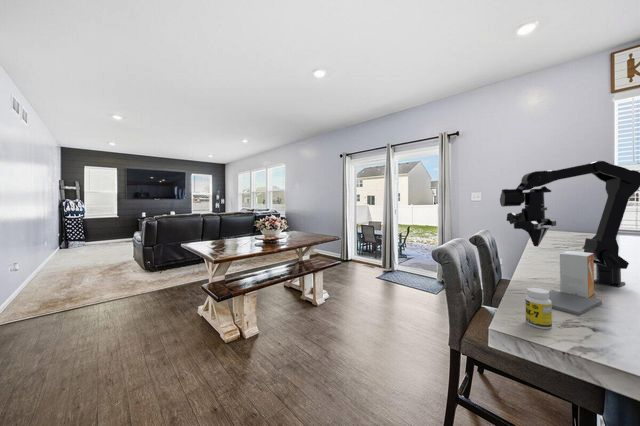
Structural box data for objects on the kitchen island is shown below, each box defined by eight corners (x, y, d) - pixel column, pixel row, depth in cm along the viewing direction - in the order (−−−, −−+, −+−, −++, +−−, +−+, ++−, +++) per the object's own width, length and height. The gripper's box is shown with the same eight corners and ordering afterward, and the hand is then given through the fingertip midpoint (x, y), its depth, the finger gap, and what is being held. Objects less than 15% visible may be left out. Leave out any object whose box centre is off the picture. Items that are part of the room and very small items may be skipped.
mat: (552, 292, 81) (552, 290, 81) (601, 303, 71) (601, 300, 71) (528, 301, 74) (528, 299, 74) (578, 315, 64) (578, 312, 64)
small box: (588, 299, 74) (587, 256, 74) (559, 294, 79) (558, 253, 79) (594, 294, 78) (594, 252, 78) (567, 289, 84) (566, 250, 83)
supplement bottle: (520, 321, 62) (519, 287, 62) (538, 319, 63) (537, 286, 62) (539, 330, 57) (538, 294, 57) (557, 328, 58) (557, 292, 58)
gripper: (521, 205, 106) (523, 241, 106) (497, 207, 97) (499, 246, 97) (556, 204, 96) (557, 244, 96) (532, 205, 87) (534, 250, 87)
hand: (536, 246), depth 95 cm, fingers closed
